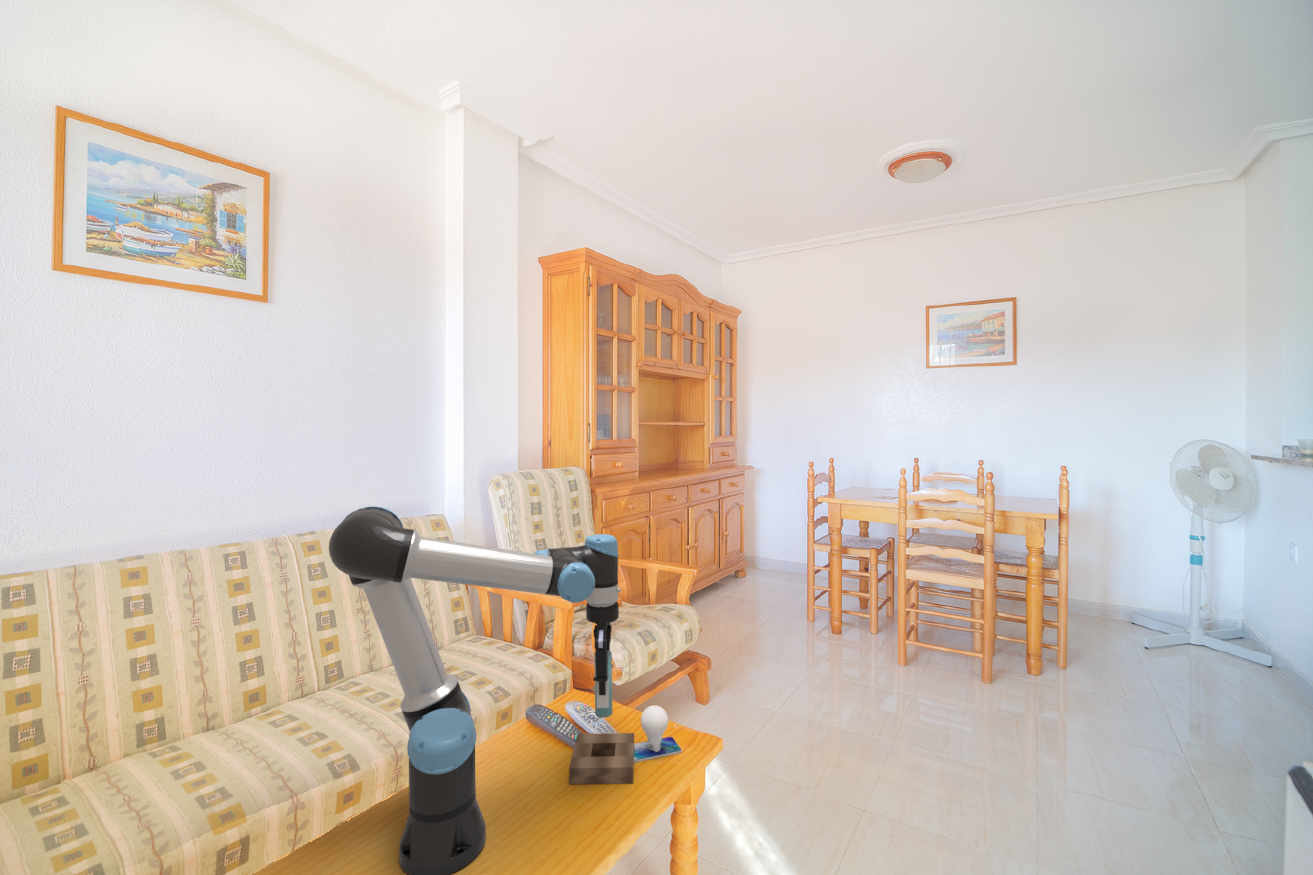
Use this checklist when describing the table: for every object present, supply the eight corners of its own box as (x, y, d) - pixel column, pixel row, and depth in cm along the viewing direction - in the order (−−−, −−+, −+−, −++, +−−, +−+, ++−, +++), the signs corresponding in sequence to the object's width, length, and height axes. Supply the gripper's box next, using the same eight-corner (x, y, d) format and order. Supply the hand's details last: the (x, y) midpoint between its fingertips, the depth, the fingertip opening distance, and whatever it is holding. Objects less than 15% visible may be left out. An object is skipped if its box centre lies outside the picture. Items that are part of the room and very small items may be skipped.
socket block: (569, 784, 123) (569, 768, 123) (577, 748, 137) (577, 733, 137) (632, 783, 123) (632, 767, 123) (634, 747, 137) (634, 732, 137)
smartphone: (614, 747, 137) (672, 735, 142) (615, 750, 137) (672, 739, 142) (623, 762, 130) (682, 750, 135) (623, 766, 130) (682, 753, 135)
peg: (611, 717, 128) (611, 656, 128) (594, 717, 128) (593, 656, 128) (612, 708, 132) (612, 649, 132) (596, 708, 132) (595, 650, 132)
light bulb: (665, 761, 131) (665, 714, 131) (638, 758, 133) (637, 712, 132) (670, 745, 138) (670, 701, 138) (644, 742, 139) (644, 699, 139)
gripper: (616, 613, 121) (617, 720, 121) (620, 591, 138) (621, 685, 138) (581, 614, 121) (583, 721, 121) (589, 591, 138) (591, 685, 138)
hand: (603, 701), depth 130 cm, fingers closed on peg, 4 cm apart
